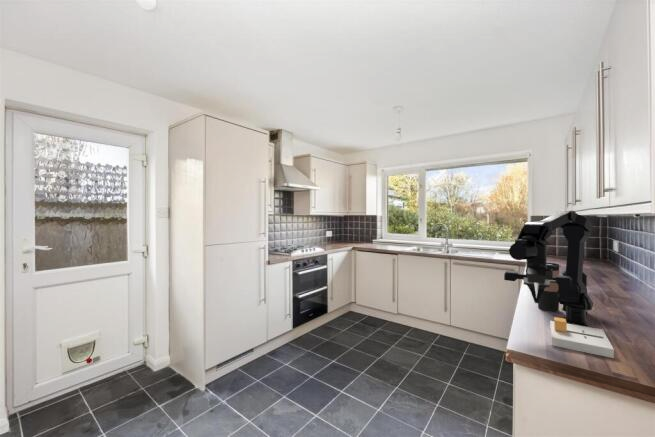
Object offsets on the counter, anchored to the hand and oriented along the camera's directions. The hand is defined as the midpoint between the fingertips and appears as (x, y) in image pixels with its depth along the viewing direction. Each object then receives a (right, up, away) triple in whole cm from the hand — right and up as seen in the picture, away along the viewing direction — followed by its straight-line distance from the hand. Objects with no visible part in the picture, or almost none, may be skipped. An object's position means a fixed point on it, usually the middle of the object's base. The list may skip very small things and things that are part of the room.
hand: (536, 302), depth 99 cm
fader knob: (+5, -8, -4) cm, 10 cm away
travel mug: (+24, -11, +26) cm, 37 cm away
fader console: (+9, -11, -7) cm, 15 cm away
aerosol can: (+33, -11, +23) cm, 41 cm away
